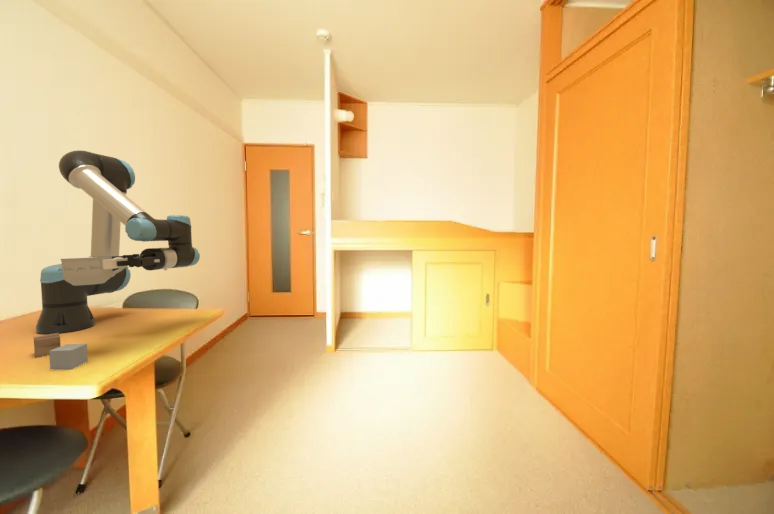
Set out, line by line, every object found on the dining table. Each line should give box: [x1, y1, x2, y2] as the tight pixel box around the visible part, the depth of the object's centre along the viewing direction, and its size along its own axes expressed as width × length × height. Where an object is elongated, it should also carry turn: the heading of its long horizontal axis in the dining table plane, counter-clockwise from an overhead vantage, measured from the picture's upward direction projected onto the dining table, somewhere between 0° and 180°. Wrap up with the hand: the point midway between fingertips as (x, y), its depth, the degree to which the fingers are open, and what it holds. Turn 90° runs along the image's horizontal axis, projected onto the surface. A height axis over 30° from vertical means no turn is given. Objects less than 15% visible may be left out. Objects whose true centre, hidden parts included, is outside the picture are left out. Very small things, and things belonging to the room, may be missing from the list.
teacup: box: [60, 257, 125, 286], centre depth 93 cm, size 14×11×8 cm
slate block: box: [49, 343, 89, 370], centre depth 85 cm, size 5×5×5 cm
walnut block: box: [33, 333, 62, 359], centre depth 93 cm, size 5×5×5 cm
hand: (87, 263), depth 92 cm, fingers closed on teacup, 11 cm apart
